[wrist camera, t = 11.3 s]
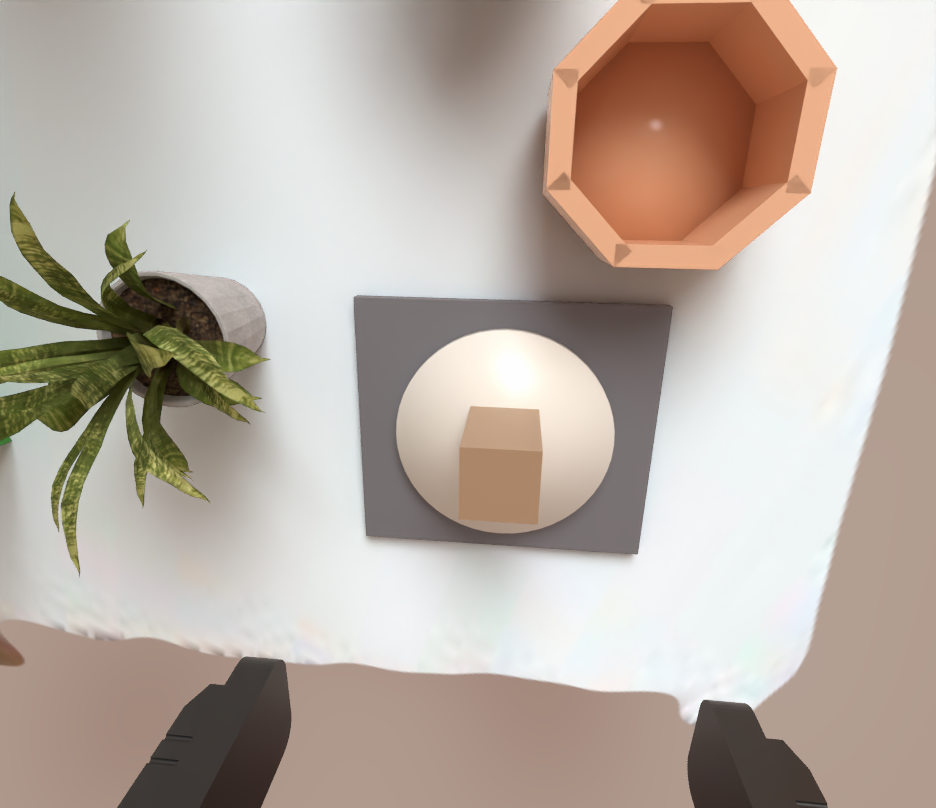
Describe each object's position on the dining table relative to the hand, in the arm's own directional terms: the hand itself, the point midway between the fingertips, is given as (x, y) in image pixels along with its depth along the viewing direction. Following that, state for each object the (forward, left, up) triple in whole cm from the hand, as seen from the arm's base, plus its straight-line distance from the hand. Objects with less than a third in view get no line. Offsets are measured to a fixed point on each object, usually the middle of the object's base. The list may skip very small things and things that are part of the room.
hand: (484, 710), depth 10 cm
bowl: (+7, +12, -24) cm, 28 cm away
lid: (0, -4, -23) cm, 23 cm away
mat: (0, -4, -24) cm, 24 cm away
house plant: (-18, +1, -24) cm, 30 cm away
